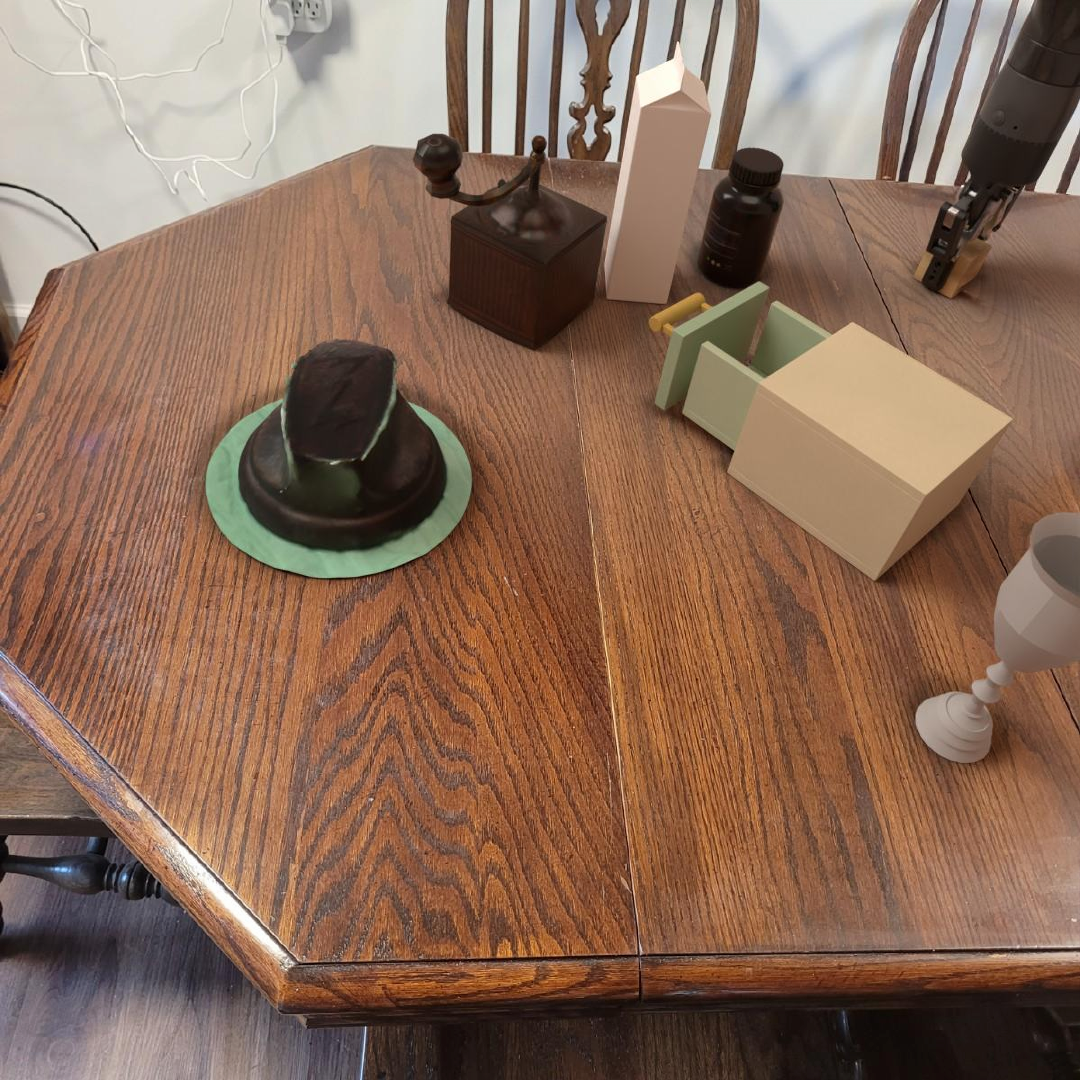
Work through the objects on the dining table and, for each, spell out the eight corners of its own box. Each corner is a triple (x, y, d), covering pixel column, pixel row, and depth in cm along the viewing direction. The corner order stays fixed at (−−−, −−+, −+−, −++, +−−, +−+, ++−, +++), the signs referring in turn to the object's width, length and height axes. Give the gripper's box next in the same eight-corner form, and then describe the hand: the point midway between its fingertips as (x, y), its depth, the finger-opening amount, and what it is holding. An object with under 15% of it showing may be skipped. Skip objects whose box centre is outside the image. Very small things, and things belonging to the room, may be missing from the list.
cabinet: (726, 472, 77) (758, 382, 70) (814, 410, 84) (852, 321, 76) (874, 581, 71) (926, 495, 64) (957, 505, 77) (1013, 418, 70)
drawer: (617, 377, 82) (633, 302, 77) (700, 329, 88) (720, 257, 82) (778, 494, 75) (809, 421, 69) (857, 433, 81) (891, 362, 75)
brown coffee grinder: (504, 257, 94) (518, 74, 81) (596, 302, 91) (628, 118, 77) (403, 328, 85) (401, 136, 72) (502, 381, 82) (518, 189, 68)
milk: (606, 300, 91) (645, 67, 75) (603, 264, 95) (640, 35, 79) (667, 305, 92) (721, 75, 75) (663, 269, 96) (712, 42, 79)
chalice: (893, 750, 62) (1028, 583, 48) (904, 670, 66) (1031, 495, 52) (1005, 792, 61) (1176, 632, 47) (1010, 708, 65) (1167, 539, 51)
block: (935, 263, 102) (953, 225, 98) (972, 284, 100) (992, 245, 96) (912, 277, 99) (930, 239, 96) (950, 299, 97) (970, 260, 94)
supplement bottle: (722, 243, 100) (753, 134, 91) (774, 274, 97) (810, 164, 88) (681, 265, 96) (709, 154, 87) (733, 297, 94) (767, 185, 85)
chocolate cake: (498, 563, 67) (208, 604, 63) (457, 486, 84) (226, 515, 80) (483, 353, 62) (164, 384, 58) (442, 316, 79) (193, 338, 75)
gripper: (1022, 158, 81) (939, 320, 94) (1093, 116, 88) (1007, 273, 101) (947, 122, 84) (877, 284, 97) (1022, 85, 92) (947, 240, 104)
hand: (944, 277), depth 99 cm, fingers closed on block, 4 cm apart
